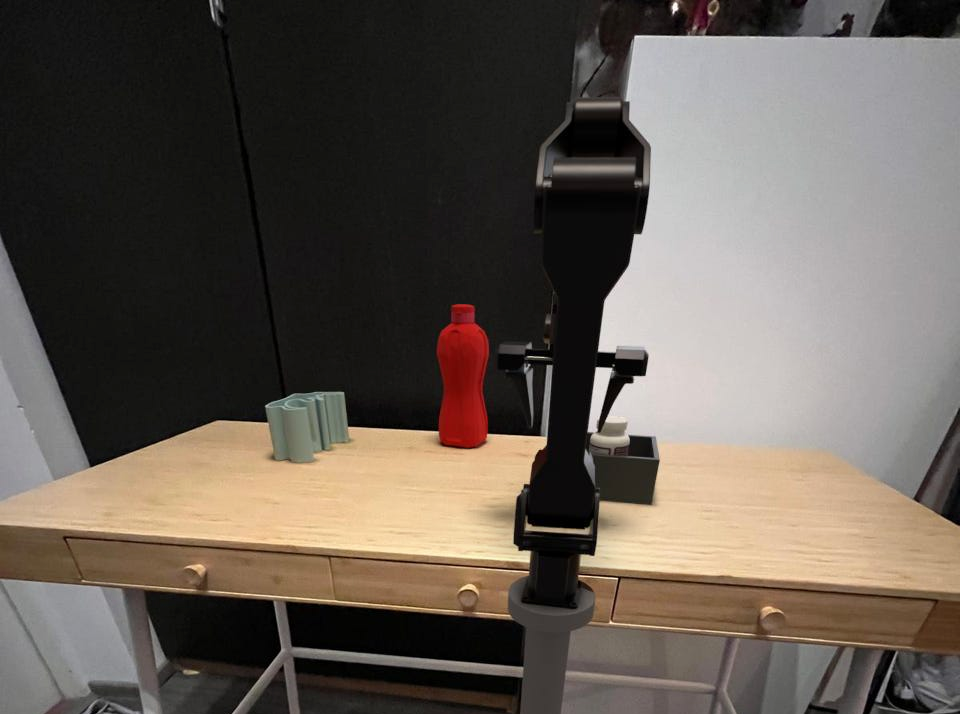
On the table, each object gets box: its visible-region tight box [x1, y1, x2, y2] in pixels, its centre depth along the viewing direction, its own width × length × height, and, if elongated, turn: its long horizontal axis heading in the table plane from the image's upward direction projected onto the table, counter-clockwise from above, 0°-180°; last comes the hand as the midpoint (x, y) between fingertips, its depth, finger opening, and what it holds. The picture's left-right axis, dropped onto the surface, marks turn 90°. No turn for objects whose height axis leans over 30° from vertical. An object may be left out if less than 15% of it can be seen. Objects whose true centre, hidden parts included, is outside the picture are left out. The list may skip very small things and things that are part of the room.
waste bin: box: [586, 431, 661, 505], centre depth 94 cm, size 15×15×7 cm
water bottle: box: [436, 303, 490, 449], centre depth 112 cm, size 9×11×25 cm
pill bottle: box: [589, 415, 630, 456], centre depth 90 cm, size 6×6×11 cm
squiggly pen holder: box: [264, 391, 350, 464], centre depth 110 cm, size 18×10×9 cm, turn 171°
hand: (564, 429), depth 76 cm, fingers open, 9 cm apart
